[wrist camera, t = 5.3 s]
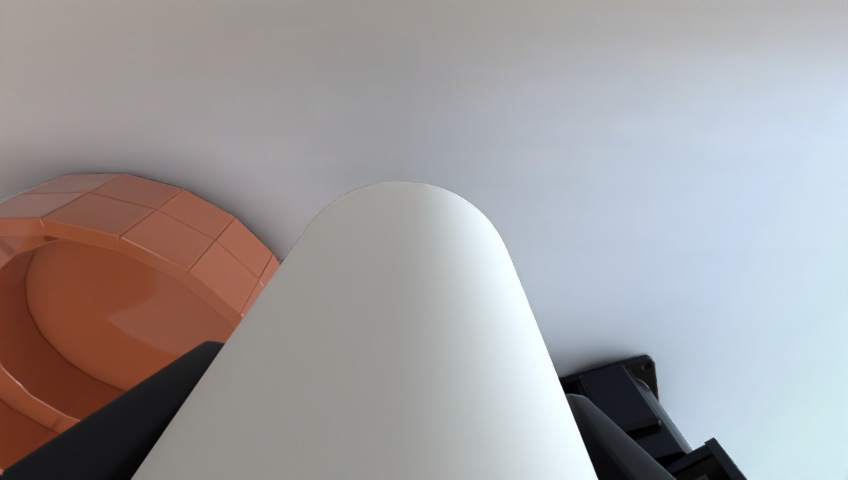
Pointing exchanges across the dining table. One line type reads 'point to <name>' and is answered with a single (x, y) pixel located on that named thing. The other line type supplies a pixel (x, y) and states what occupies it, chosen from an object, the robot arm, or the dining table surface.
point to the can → (382, 360)
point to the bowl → (110, 294)
